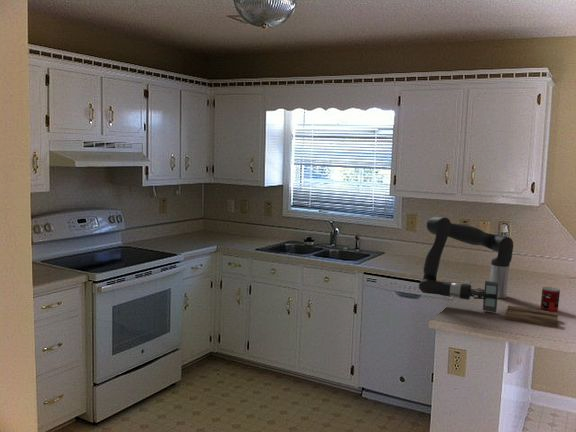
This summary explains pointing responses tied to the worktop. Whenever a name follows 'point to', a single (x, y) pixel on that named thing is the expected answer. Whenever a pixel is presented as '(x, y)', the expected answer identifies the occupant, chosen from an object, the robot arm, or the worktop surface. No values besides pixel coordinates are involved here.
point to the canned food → (550, 299)
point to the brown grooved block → (531, 316)
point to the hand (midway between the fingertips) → (497, 296)
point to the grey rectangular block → (489, 303)
